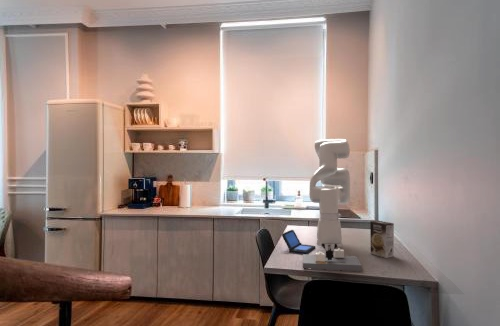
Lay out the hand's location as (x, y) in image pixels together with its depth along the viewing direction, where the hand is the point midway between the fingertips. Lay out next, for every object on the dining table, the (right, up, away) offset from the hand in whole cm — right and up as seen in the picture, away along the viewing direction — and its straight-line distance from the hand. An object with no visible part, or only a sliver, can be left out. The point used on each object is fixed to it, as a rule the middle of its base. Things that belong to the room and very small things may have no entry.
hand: (329, 259), depth 144 cm
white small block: (-4, -1, +1) cm, 4 cm away
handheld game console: (-9, -4, +30) cm, 32 cm away
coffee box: (+30, -4, +19) cm, 36 cm away
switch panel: (+1, -4, +3) cm, 5 cm away
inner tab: (+6, -1, +6) cm, 8 cm away
